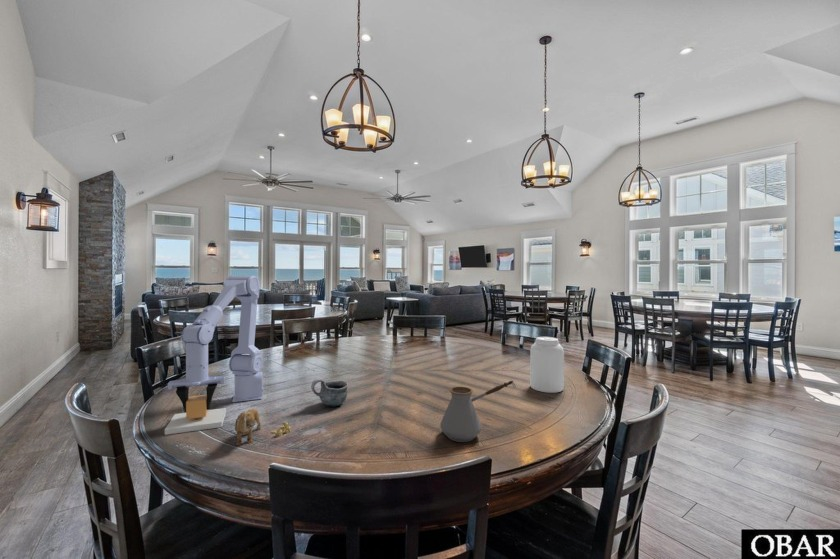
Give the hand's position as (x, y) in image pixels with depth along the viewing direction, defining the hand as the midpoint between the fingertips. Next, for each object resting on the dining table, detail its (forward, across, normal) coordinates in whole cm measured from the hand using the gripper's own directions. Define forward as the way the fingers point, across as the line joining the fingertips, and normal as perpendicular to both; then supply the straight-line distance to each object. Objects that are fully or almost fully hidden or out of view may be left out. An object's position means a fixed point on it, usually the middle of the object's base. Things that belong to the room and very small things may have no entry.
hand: (197, 410), depth 110 cm
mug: (+4, +39, 0) cm, 39 cm away
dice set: (+5, +23, -16) cm, 29 cm away
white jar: (+4, +121, -12) cm, 122 cm away
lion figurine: (+4, +15, -17) cm, 23 cm away
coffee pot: (+4, +74, -38) cm, 83 cm away
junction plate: (+4, 0, 0) cm, 4 cm away
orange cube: (+1, 0, 0) cm, 1 cm away
